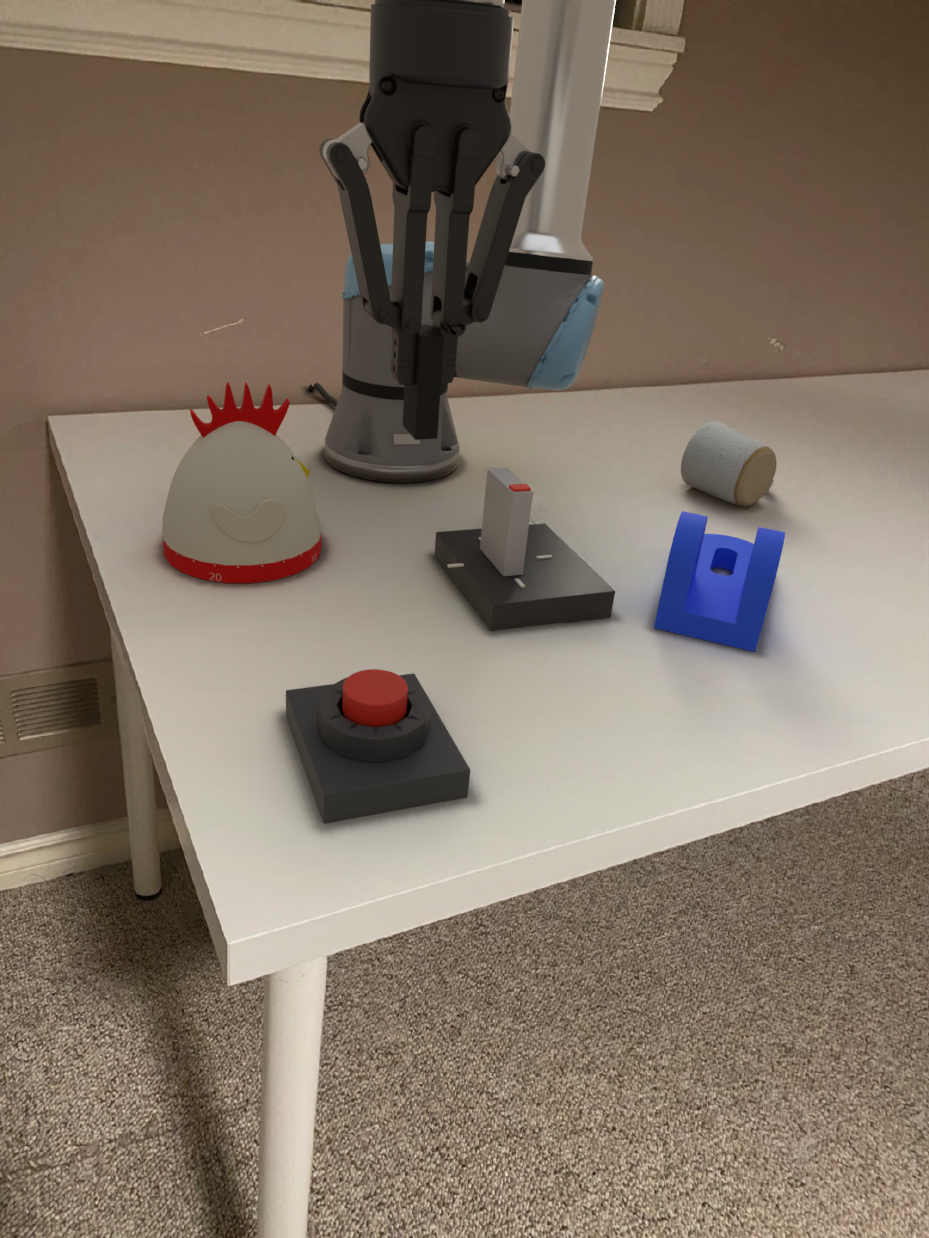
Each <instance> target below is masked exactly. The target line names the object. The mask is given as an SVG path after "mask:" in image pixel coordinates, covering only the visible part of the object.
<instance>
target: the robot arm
mask: <svg viewBox="0 0 929 1238" xmlns="http://www.w3.org/2000/svg"><path fill="white" fill-rule="evenodd" d="M521 1H522V2H521V9H520V19H519V29H518V34H517V35H518V36H517V45H516V54H515V63H514V73H513V82H512V88H511V89H512V90H511V96H510V97H511V98H510V105H509V110H508V106H507V100H506V99H507V91H508V86H509V81H510V80H509V79H510V71H511V70H510V69H511V57H512V46H513V35H514V33H513V32H514V23H515V17H514V16H511V13H512V11H511V9H508V8H504V7H505V0H374V3H371V4H370V20H369V21H370V23H369V24H370V28H369V67H368V68H369V69H368V70H369V71H368V72H369V73H368V74H369V75H368V77H369V79H368V81H369V83H368V92H367V95H366V98H365V100H364V102H363V104H362V105H361V107H360V111H359V117H358V119H359V122H358V123H357V124H355V125H354V126H353V127H351V128H350V129H348V130H347V131H345V132H344V133H343V134H341V135H340V136H338V137H337V138H335V139H334V138H325V139H324V140H322V141H321V143H320V145H319V150H318V153H319V155H320V158H321V160H322V161H323V163H324V164H325V166H326V168H327V170H328V171H329V173H330V175H331V177H332V179H333V181H334V182H335V184H336V186H337V190H338V195H339V200H340V204H341V210H342V215H343V219H344V224H345V229H346V234H347V239H348V243H349V248H350V253H351V254H350V255H349V257H348V258H347V260H346V262H345V269H344V272H345V273H344V287H343V292H342V294H341V299H342V306H343V307H342V370H341V371H342V377H341V378H342V379H341V392H340V394H339V396H338V399H337V398H335V397H333V396H332V395H330V393H328V392H327V390H326V389H325V388H324V387H323V385H321V384H320V383H318V382H316V383H315V384H314V387H313V386H312V385H311V384H312V383H310V384H309V385H308V388H307V390H306V391H308V392H314V391H315V390H316V391H317V392H318V393H319V394H320V396H321V397H322V398H323V399H324V400H325V401H326V402H328V403H329V404H331V405H332V406H333V407H335V408H334V411H333V414H332V417H331V420H330V423H329V426H328V429H327V432H326V435H325V437H324V458H325V461H326V462H327V464H329V465H330V466H331V467H333V468H334V469H335V470H338V471H339V472H342V473H344V474H346V475H349V476H353V477H357V478H360V479H364V480H369V481H374V482H375V481H376V482H385V483H419V482H426V481H431V480H436V479H440V478H443V477H445V476H447V475H449V474H451V473H452V472H454V471H455V470H456V469H457V468H458V465H459V459H460V443H459V439H458V436H457V430H456V427H455V423H454V419H453V414H452V411H451V407H450V402H449V396H448V393H449V392H448V391H449V384H452V383H453V380H454V378H458V379H464V380H471V381H479V382H485V383H491V384H492V383H493V384H500V385H508V386H514V387H522V388H525V390H528V391H531V390H547V391H557V392H559V391H565V390H567V389H569V388H571V387H572V386H573V385H574V384H575V383H576V381H577V380H578V377H579V374H580V373H581V369H582V367H583V364H584V362H585V358H586V356H587V353H588V349H589V346H590V342H591V339H592V336H593V332H594V330H595V326H596V322H597V318H598V315H599V311H600V307H601V301H602V297H603V294H604V290H605V282H604V281H603V279H602V278H600V277H599V276H597V275H592V272H593V265H594V256H593V255H592V253H591V252H590V251H589V248H588V247H587V246H586V244H585V243H584V240H583V238H582V237H583V236H582V235H583V229H584V223H585V216H586V209H587V201H588V195H589V187H590V181H591V173H592V168H593V161H594V155H595V154H594V152H595V146H596V139H597V131H598V126H599V118H600V111H601V106H602V98H603V92H604V84H605V76H606V69H607V64H608V56H609V49H610V44H611V43H610V42H611V36H612V29H613V23H614V22H613V21H614V15H615V9H616V8H615V6H616V2H617V0H521ZM370 146H371V148H372V150H373V151H374V153H375V155H376V157H377V158H378V159H379V162H380V163H381V165H382V167H383V169H384V170H385V172H386V174H387V175H388V177H389V178H390V180H391V181H392V190H391V191H392V193H391V196H392V204H393V207H394V208H393V209H394V210H393V235H392V243H384V244H381V242H380V237H379V236H380V235H379V230H378V227H377V226H378V225H377V221H376V215H375V211H374V204H373V200H372V194H371V191H370V187H369V183H368V181H367V178H366V176H365V174H366V173H367V172H368V171H369V169H370V166H371V164H370V163H371V161H370V158H369V149H370ZM495 159H496V162H495V165H494V172H495V174H496V177H495V179H494V181H493V183H492V185H491V189H490V191H489V195H488V197H487V200H486V205H485V208H484V211H483V215H482V218H481V222H480V224H479V229H478V232H477V235H476V236H477V237H476V238H475V243H474V245H473V249H472V253H471V256H470V259H469V262H468V261H467V259H468V246H469V245H468V244H469V231H470V230H469V229H470V217H471V214H472V212H473V210H474V205H475V204H474V203H475V193H476V190H475V189H476V185H477V184H478V183H479V181H480V180H481V178H482V177H483V176H484V175H485V173H486V172H487V170H488V169H489V168H490V166H491V165H492V163H493V162H494V160H495ZM432 193H433V202H434V206H435V219H434V220H435V221H434V222H435V223H434V239H433V241H427V227H428V215H429V213H430V210H431V206H432Z"/></svg>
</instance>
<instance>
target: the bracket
mask: <svg viewBox="0 0 929 1238" xmlns="http://www.w3.org/2000/svg"><path fill="white" fill-rule="evenodd" d="M707 524H708V515H703V514H699V513H694V512H690V511H684V510H681V512H680V514H679V517H678V521H677V524H676V528H675V531H674V535H673V537H672V542H671V546H670V550H669V553H668V558H667V563H666V568H665V573H664V578H663V582H662V587H661V591H660V596H659V600H658V606H657V610H656V614H655V620H654V625H653V629H656V630H661V631H665V632H669V633H674V634H677V635H682V636H686V637H690V638H694V639H698V640H703V641H707V642H712V643H716V644H720V645H724V646H729V647H733V648H737V649H741V650H745V651H749V652H753V653H756V650H757V647H758V644H759V639H760V636H761V633H762V629H763V626H764V622H765V618H766V614H767V611H768V607H769V604H770V600H771V596H772V592H773V589H774V586H775V582H776V578H777V575H778V569H779V565H780V561H781V558H782V554H783V553H782V552H783V549H784V543H785V538H786V531H783V530H782V531H781V530H777V529H771V528H768V527H767V528H766V527H763V526H758V528H757V531H756V535H755V538H754V542H751V541H748V540H746V539H743V538H739V537H735V536H732V535H727V534H719V533H706V529H707ZM716 568H717V569H718V568H720V569H724V570H727V571H728V572H729V571H730V573H731V574H730V575H722V574H718V573H716V572H714V571H712V569H716Z"/></svg>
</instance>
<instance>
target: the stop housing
mask: <svg viewBox="0 0 929 1238" xmlns="http://www.w3.org/2000/svg"><path fill="white" fill-rule="evenodd" d="M398 675H399V676H400V677H402V678H403V679H404V680H405V682H406V683H407V686H408V696H407V711H406V714H405V716H404V718H403V719H402V720H401V721H400V722H398V723H396V724H394V725H387V726H381V727H370V726H364V725H358V724H355V723H353V722H352V721H350V720H348V719H347V718H346V717H345V715H344V713H343V710H342V701H343V684H344V682H345V680H346V679H347V678H348V677H349V676H347V677H345V678H342V679H340V680H339V681H337V682H335V683H331V684H330V683H329V684H323V685H322V684H321V685H316V686H315V685H314V686H309V687H299V688H293V689H286V690H285V718H286V720H287V721H286V722H287V724H288V727H289V729H290V733H291V734H292V738H293V740H294V744H295V746H296V749H297V752H298V755H299V758H300V761H301V764H302V767H303V769H304V772H305V775H306V778H307V780H308V784H309V786H310V789H311V792H312V794H313V797H314V800H315V803H316V806H317V809H318V811H319V815H320V817H321V820H322V823H323V824H330V823H336V822H341V821H347V820H351V819H357V818H363V817H368V816H373V815H378V814H384V813H390V812H396V811H400V810H401V811H402V810H407V809H412V808H416V807H422V806H428V805H433V804H439V803H443V802H449V801H450V802H451V801H455V800H460V799H467V798H468V795H469V787H470V777H471V768H470V767H469V765H468V763H467V761H466V760H465V758H464V756H463V754H462V753H461V751H460V749H459V748H458V746H457V744H456V742H455V741H454V739H453V738H452V736H451V733H450V732H449V731H448V729H447V726H446V725H445V724H444V721H443V720H442V719H441V716H440V715H439V713H438V711H437V710H436V708H435V707H434V704H433V703H432V701H431V699H430V697H429V696H428V694H427V692H426V691H425V689H424V686H423V685H422V684H421V682H420V681H419V679H418V677H417V676H416V674H415V673H414V672H413V673H406V674H398Z"/></svg>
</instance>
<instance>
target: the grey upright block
mask: <svg viewBox="0 0 929 1238" xmlns="http://www.w3.org/2000/svg"><path fill="white" fill-rule="evenodd" d="M533 497H534V491H533V490H532V487H531V486H529V485H528V484H527V483H525V482H523V481H522V480H521V478H519V477H518V476H517V475H515V473H513V471H511V470H510V469H509V468H508V467H491V468H487V473H486V481H485V492H484V501H483V510H482V512H483V513H482V522H481V528H482V531H481V541H480V550H481V551H482V552H483V553H484V554H485V555H486V557H487V558H488V559H489V560H490V561H491V562H492V564H493V565H494V566H495V567H496V568H497V570H498V571H499V572H500V573H501V574H502V575H503V576H514V575H523V568H524V560H525V552H526V545H527V537H528V529H529V525H530V522H531V512H532V505H533V504H532V503H533Z"/></svg>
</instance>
